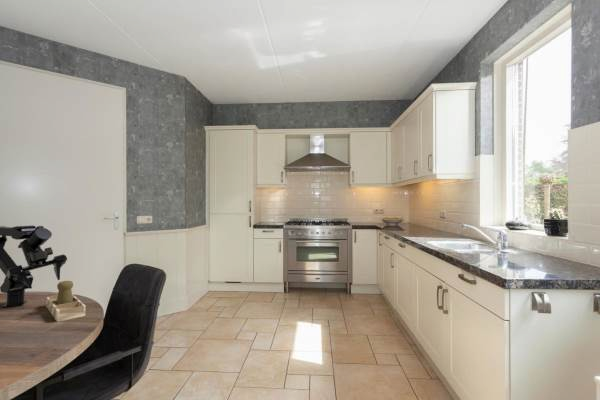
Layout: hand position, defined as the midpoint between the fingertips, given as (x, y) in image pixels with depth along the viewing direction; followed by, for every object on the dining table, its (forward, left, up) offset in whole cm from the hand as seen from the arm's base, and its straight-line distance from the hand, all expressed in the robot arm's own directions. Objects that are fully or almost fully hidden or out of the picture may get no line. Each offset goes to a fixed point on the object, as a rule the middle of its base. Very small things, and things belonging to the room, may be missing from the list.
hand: (45, 283), depth 122 cm
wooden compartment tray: (+5, +8, -11) cm, 14 cm away
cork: (+4, +7, -10) cm, 13 cm away
